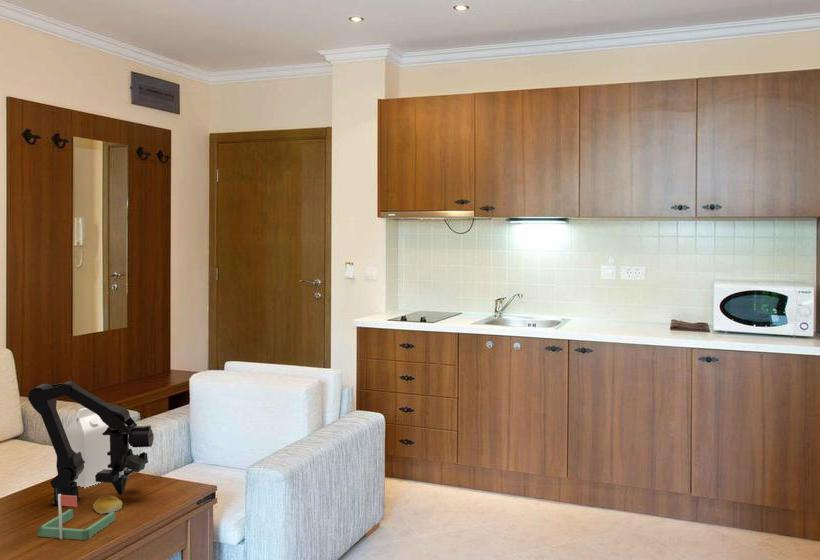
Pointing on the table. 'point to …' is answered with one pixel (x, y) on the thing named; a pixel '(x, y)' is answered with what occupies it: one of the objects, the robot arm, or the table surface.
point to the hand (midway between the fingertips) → (120, 494)
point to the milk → (89, 445)
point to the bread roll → (107, 504)
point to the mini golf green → (67, 533)
